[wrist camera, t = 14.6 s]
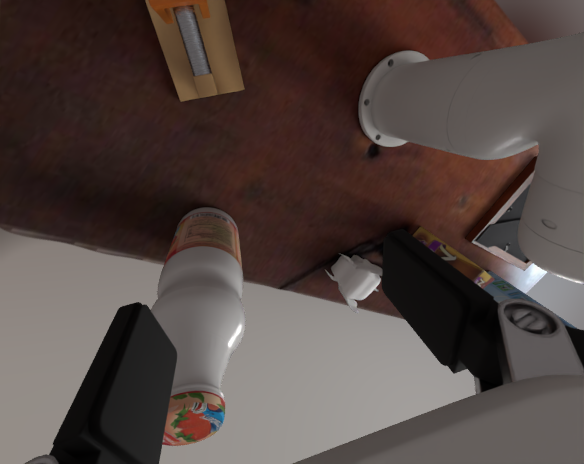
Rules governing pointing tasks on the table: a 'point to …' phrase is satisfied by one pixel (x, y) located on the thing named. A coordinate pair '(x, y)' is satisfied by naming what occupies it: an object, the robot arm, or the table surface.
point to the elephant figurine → (355, 278)
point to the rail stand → (199, 50)
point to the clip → (162, 3)
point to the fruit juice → (200, 320)
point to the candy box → (454, 258)
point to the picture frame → (506, 222)
